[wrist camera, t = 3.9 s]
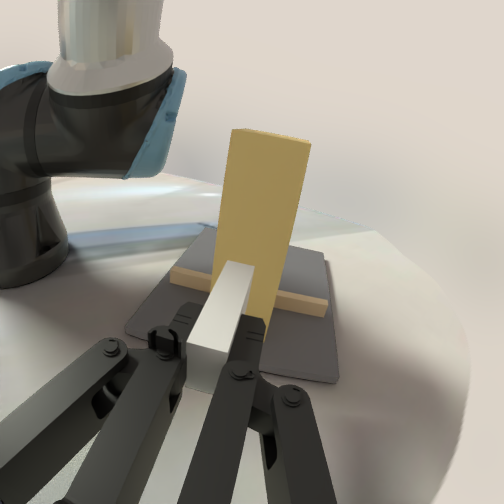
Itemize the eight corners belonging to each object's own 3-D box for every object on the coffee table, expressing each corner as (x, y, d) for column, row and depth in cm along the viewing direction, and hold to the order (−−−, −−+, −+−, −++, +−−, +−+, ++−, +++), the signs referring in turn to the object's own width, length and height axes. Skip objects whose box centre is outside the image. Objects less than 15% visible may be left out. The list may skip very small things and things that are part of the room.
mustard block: (263, 342, 24) (311, 144, 17) (206, 329, 24) (231, 129, 17) (269, 308, 28) (308, 140, 21) (220, 297, 29) (245, 128, 22)
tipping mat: (335, 383, 21) (345, 365, 20) (125, 333, 23) (123, 312, 22) (321, 257, 43) (325, 243, 42) (204, 232, 44) (206, 218, 43)
